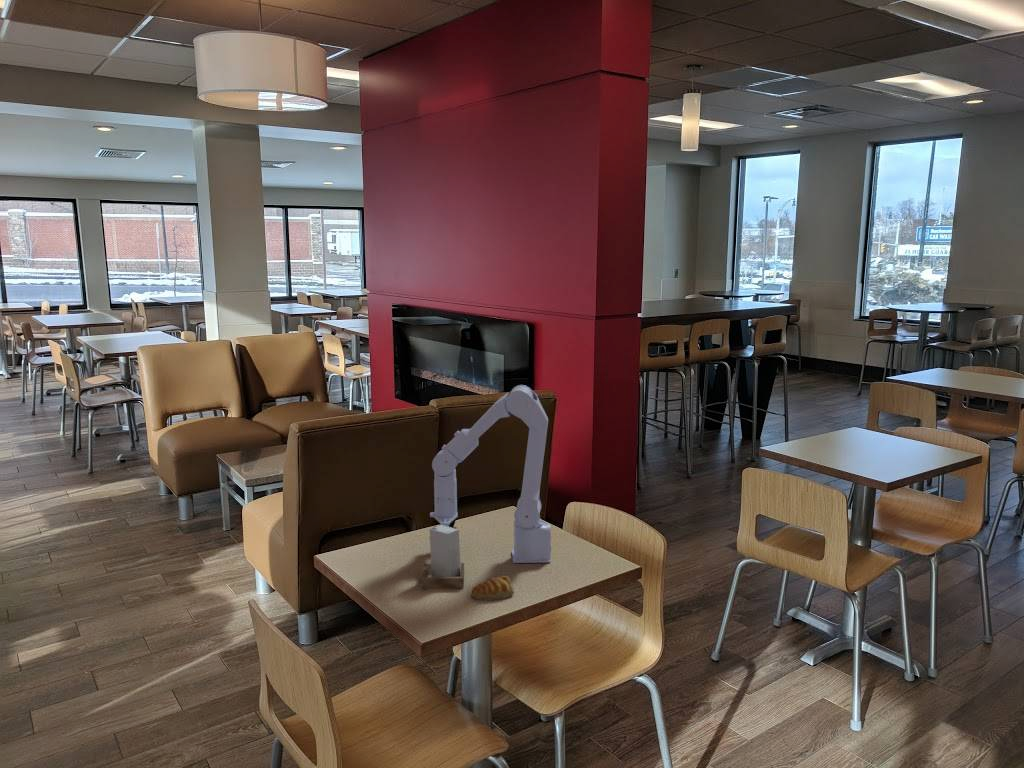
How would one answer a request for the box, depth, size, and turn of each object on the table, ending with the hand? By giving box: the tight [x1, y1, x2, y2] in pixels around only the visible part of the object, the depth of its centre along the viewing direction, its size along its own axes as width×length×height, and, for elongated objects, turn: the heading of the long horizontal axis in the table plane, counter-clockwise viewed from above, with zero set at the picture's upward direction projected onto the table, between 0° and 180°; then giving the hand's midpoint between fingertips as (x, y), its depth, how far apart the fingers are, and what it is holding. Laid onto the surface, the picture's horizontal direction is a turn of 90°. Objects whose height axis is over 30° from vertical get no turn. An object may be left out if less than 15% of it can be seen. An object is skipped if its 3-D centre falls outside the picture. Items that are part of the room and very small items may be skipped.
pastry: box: [471, 575, 515, 601], centre depth 169 cm, size 9×7×4 cm
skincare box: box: [429, 524, 461, 577], centre depth 177 cm, size 6×4×12 cm
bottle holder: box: [421, 562, 465, 590], centre depth 176 cm, size 10×9×2 cm
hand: (446, 547), depth 192 cm, fingers open, 7 cm apart
